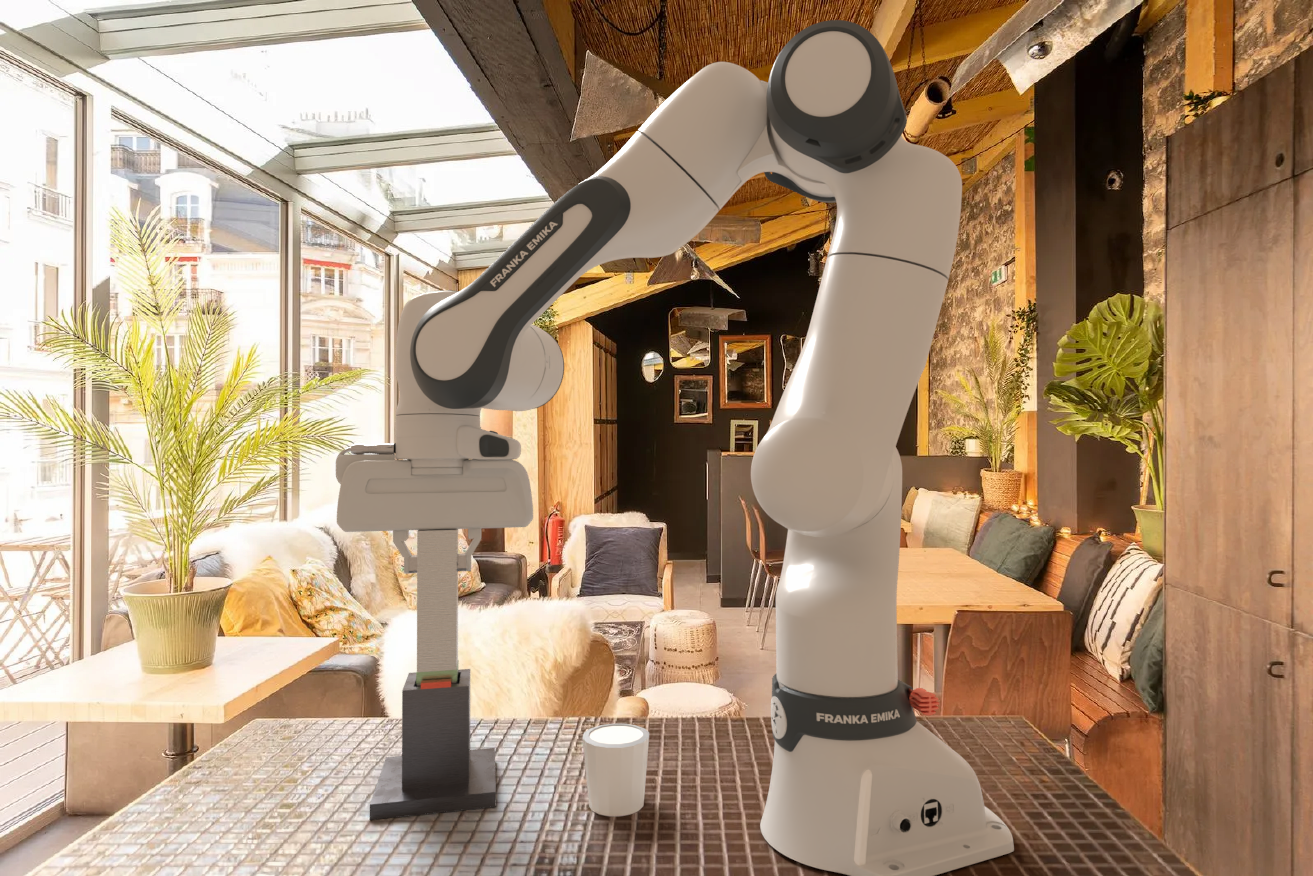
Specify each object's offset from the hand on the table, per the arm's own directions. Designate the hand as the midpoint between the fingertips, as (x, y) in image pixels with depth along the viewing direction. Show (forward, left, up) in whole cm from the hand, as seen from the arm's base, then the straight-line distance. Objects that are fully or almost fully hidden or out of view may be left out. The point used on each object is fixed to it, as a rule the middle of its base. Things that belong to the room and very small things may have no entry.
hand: (438, 571), depth 81 cm
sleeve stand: (0, 0, -23) cm, 23 cm away
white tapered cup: (-18, +8, -23) cm, 30 cm away
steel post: (0, 0, -13) cm, 13 cm away
